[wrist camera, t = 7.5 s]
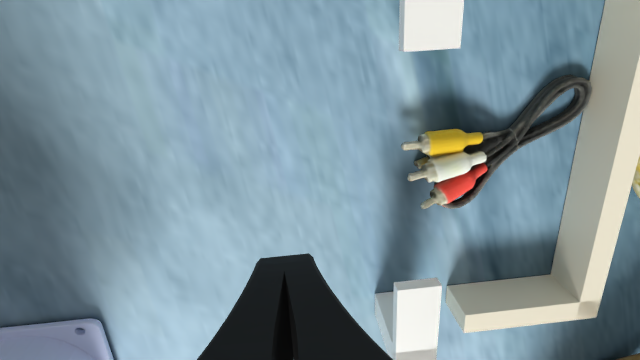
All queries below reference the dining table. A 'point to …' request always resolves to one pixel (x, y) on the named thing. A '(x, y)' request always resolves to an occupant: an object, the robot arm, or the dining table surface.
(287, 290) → the robot arm
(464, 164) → the composite cable
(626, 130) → the end holder
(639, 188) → the bread roll
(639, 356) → the wooden carving
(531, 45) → the dining table surface
